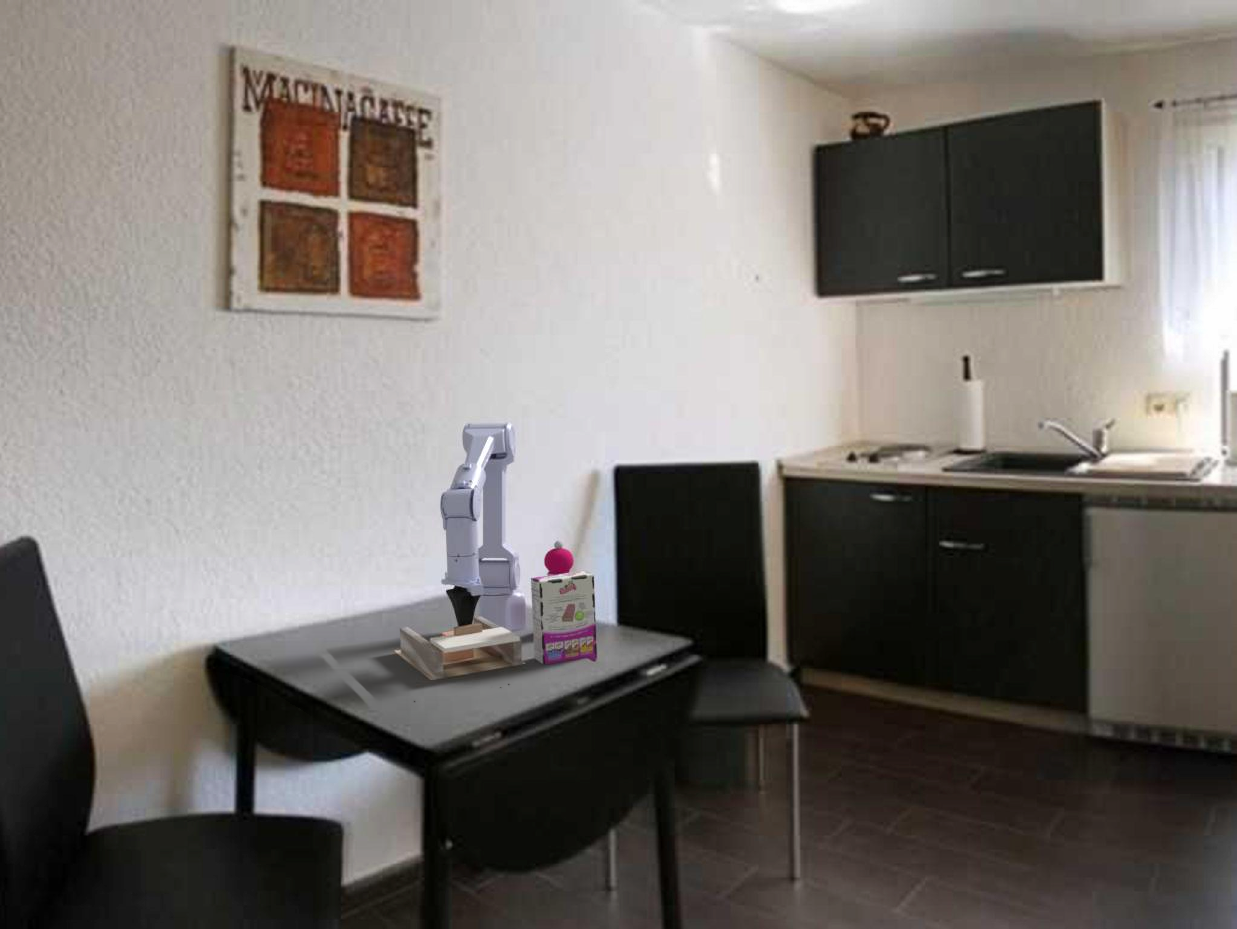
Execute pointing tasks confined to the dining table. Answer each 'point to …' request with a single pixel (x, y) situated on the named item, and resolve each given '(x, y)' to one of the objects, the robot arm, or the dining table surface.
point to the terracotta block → (457, 654)
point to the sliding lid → (473, 638)
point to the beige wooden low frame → (439, 667)
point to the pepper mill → (558, 560)
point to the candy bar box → (564, 617)
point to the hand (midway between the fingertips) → (465, 627)
